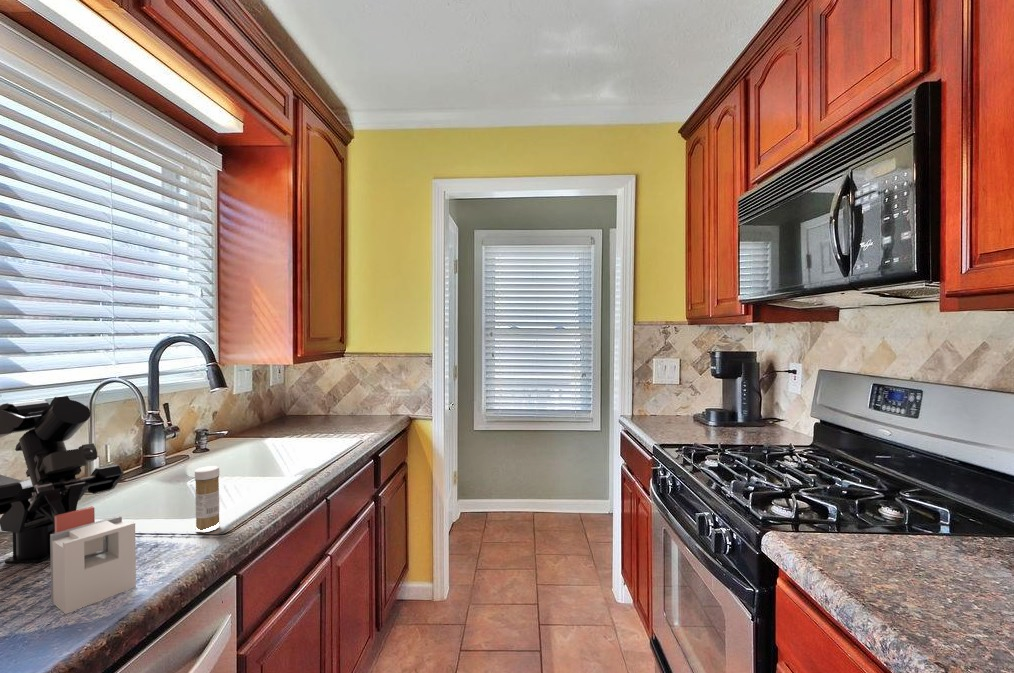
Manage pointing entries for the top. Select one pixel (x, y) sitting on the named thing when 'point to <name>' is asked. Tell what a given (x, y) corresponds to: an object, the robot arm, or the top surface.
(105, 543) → the box
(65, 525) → the button
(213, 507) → the sprinkles bottle
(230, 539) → the top surface
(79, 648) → the top surface
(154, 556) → the top surface
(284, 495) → the top surface
